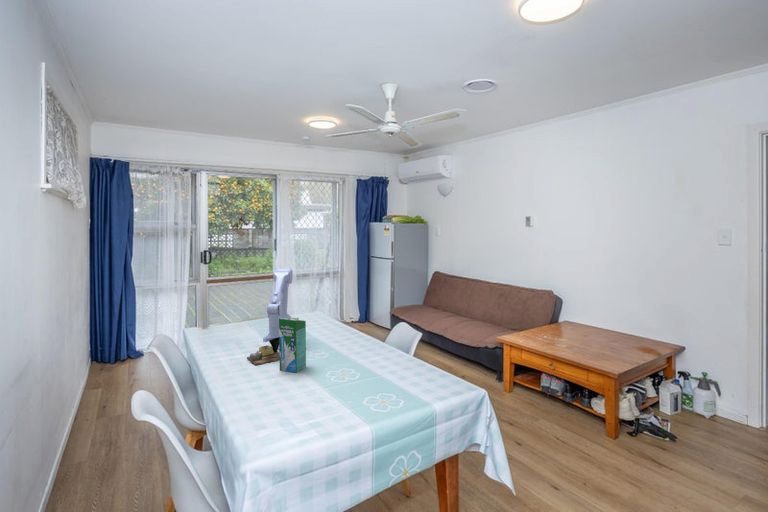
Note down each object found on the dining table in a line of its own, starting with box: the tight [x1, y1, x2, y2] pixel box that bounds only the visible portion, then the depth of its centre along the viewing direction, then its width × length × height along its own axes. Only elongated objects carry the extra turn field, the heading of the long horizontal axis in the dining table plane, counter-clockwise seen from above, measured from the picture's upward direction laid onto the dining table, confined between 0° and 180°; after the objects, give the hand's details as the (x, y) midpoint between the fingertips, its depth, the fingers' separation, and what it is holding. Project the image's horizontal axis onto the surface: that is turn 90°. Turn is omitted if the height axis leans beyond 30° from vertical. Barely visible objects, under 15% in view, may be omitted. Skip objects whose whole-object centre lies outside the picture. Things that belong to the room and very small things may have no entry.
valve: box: [258, 344, 274, 359], centre depth 203 cm, size 8×4×6 cm, turn 130°
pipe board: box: [246, 350, 280, 367], centre depth 203 cm, size 16×12×5 cm
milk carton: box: [278, 316, 307, 374], centre depth 189 cm, size 9×9×25 cm
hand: (275, 352), depth 205 cm, fingers closed, pressing on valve
